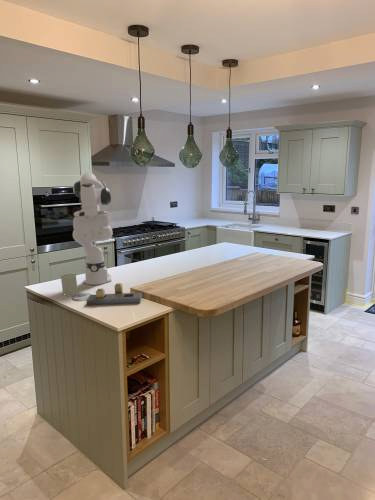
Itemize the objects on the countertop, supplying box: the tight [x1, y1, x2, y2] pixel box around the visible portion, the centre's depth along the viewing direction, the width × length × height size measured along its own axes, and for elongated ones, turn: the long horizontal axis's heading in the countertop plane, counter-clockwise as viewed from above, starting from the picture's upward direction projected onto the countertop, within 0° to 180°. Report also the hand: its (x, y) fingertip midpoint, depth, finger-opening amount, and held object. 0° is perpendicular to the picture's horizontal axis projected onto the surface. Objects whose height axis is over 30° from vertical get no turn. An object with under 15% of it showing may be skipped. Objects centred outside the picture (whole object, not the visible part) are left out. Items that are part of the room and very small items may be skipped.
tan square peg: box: [95, 288, 106, 299], centre depth 221 cm, size 4×4×8 cm
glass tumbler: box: [60, 273, 79, 296], centre depth 239 cm, size 9×9×12 cm
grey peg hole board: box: [86, 292, 143, 306], centre depth 222 cm, size 10×30×3 cm, turn 91°
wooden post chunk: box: [113, 282, 124, 294], centre depth 230 cm, size 4×4×8 cm
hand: (92, 235), depth 224 cm, fingers open, 8 cm apart
